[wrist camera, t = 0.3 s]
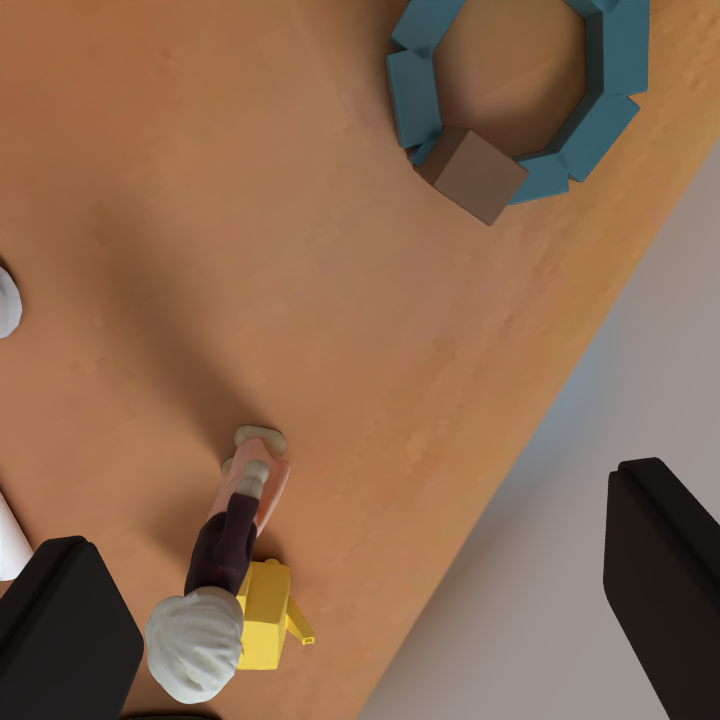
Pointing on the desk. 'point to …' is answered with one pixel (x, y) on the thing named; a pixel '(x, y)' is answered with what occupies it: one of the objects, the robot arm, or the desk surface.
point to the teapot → (268, 615)
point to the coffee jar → (169, 718)
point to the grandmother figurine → (218, 574)
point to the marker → (11, 545)
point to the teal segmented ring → (479, 156)
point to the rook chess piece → (8, 304)
